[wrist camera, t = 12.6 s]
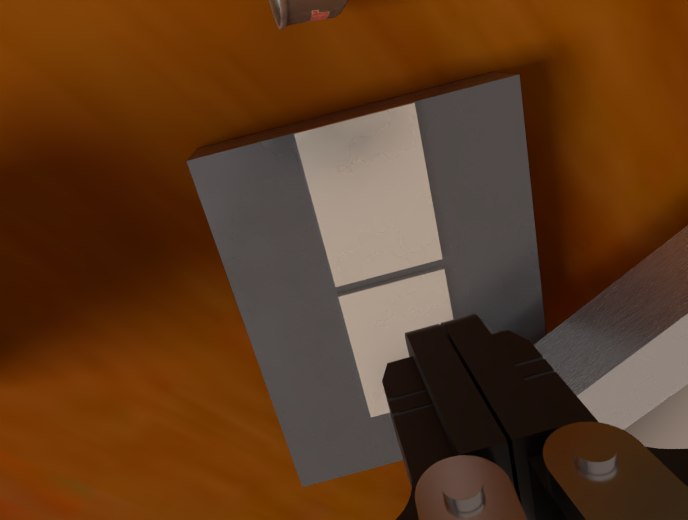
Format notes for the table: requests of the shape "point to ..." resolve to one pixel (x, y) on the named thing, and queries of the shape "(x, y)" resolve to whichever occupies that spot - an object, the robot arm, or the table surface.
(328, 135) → the plate
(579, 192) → the table surface
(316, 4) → the tin
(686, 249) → the swing bar
